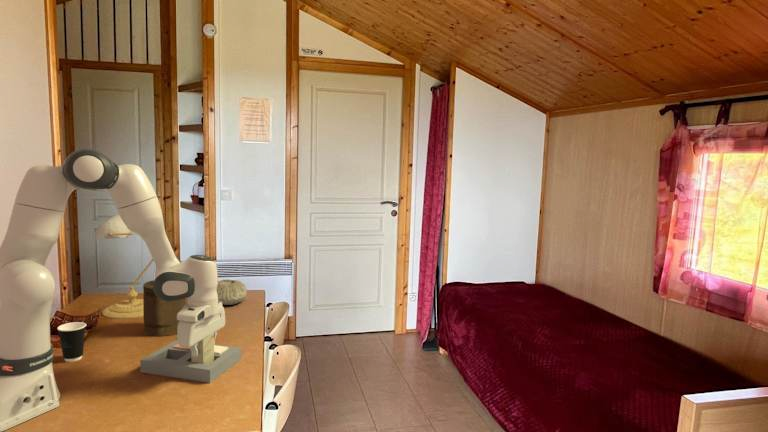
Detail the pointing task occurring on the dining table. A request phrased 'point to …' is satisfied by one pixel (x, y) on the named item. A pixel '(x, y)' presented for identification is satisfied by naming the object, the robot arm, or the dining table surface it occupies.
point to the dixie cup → (72, 340)
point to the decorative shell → (231, 291)
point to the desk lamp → (131, 306)
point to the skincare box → (205, 350)
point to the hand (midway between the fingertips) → (203, 350)
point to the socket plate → (189, 362)
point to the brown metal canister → (160, 313)
